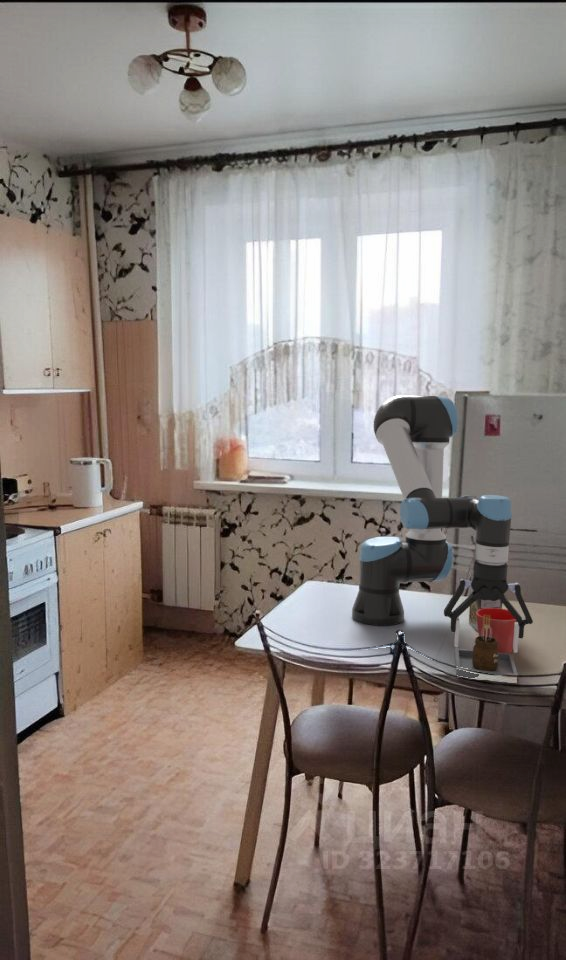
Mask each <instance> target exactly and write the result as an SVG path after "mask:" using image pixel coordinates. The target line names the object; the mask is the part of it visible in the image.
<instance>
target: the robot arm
mask: <svg viewBox="0 0 566 960" xmlns="http://www.w3.org/2000/svg"><path fill="white" fill-rule="evenodd" d="M458 429H459V415H458V410H457V408H456V405H455V403H454V401H453V400H452V399H450V398H449V397H447V396H439V395H405V394H404V395H403V394H400V395H399V394H398V395H396V396H392V397H390V398H388V399H386V400H385V401H384V402H383V403H382V404H381V405H380V407H378V409H377V410H376V413H375V415H374V420H373V432H374V434H375V438H376V440H377V442H378V443H379V444H380V445H382V446H383V448H384V452H385V454H386V456H387V458H388V461H389V463H390V466H391V470H392V471H393V475H394V477H395V479H396V482H397V485H398V487H399V489H400V493H401V495H402V498H403V500H402V501H401V503H400V507H399V516H400V521H401V524H402V526H403V527H404V528H406V529H408V530H409V531H408V532H407V533H406V534H405V541H403V542H402V540H401V538H399V537H398V536H397V537H396V536H377V537H371V538H369V539H366V540H365V541H363V543H362V544H361V545H360V552H359V558H358V559H359V574H358V575H359V576H358V577H359V580H358V581H359V582H358V583H359V585H358V592H357V595H356V597H355V601H354V603H353V606H352V610H351V613H352V614H351V617H352V619H353V620H355V621H356V622H358V623H363V624H365V625H372V626H384V627H385V626H394V625H398V624H401V623H402V622H403V621H404V620H405V609H404V605H403V602H402V598H401V596H400V595H401V594H400V583H421V582H422V583H423V582H424V583H427V582H428V583H433V582H440V581H444V580H445V579H447V577H449V575H450V573H451V571H452V568H453V565H454V552H453V547H452V544H451V543H450V542H448V541H447V537H446V535H445V533H443V532H442V529H446V530H447V529H471V530H474V531H475V533H476V535H475V548H474V559H475V561H474V564H473V569H474V577H473V580H472V581H471V579H470V580H468V579H465V578H464V577H461V578H459V582H458V587H457V588H456V590H455V592H454V593H453V595H452V596H451V597H450V600H449V601H448V603H447V604H446V606H445V608H444V609H443V615H444V616H445V617H447V618H450V632H451V633H454V647H455V648H459V635H460V616H461V615H462V614H463V613H464V612H465V611H466V610H467V609H469V608H470V605H471V604H472V603H473V602H475V601H476V600H477V599H478V598H480V599H482V600H491V601H496V600H500V601H501V602H502V605H504V607H505V608H506V610H508V611H509V612H510V613H511V614H512V616H513V617H514V618H515V619H516V621H517V622H515V625H514V639H513V649H512V652H513V653H514V654H515V653H518V651H519V639H523V638H524V634H525V626H526V625H532V624H533V623H534V620H533V618H532V615H531V613H530V611H529V609H528V607H527V604H526V602H525V600H524V598H523V595H522V594H521V593H522V592H521V589H522V588H521V584H520V583H519V582H518V581H515V582H514V583H513V582H512V583H508V581H507V579H508V563H507V562H508V561H509V547H510V538H511V527H512V517H513V516H512V515H513V513H512V500H511V498H510V497H507V496H503V495H500V494H499V495H498V494H484V495H481V496H479V497H477V496H475V495H469V494H465V495H461V496H458V497H443V484H444V483H443V480H444V478H443V477H444V454H445V453H444V450H445V448H446V447H447V446H448V445H450V439H451V438H452V437H454V436H455V435H456V434H457V432H458V431H457V430H458ZM469 587H470V588H471V587H472V588H473V590H474V591H473V592H472V593H471V594H470V593H469V596H467V597H466V598H465V599H464V601H462V602H461V603H460V604H459V605H458V606H457V607H456V608H455V606H456V605H457V603H458V601H459V600H460V598H461V597H462V595H463V593H464V591H465V590H467V589H468V588H469ZM508 590H510V591H511V593H512V594H515V597H516V599H517V602H518V604H519V606H520V609H521V610H522V613H523V614H524V616H521V614H520V613H519V612H518V611H517V610H516V608H515V606H513V604H512V603H511V602H510V600H509V599H508V598H507V597H506V595H505V594H506V592H507V591H508Z"/></svg>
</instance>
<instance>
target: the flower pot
mask: <svg viewBox="0 0 566 960" xmlns="http://www.w3.org/2000/svg"><path fill="white" fill-rule="evenodd" d="M484 615H485V624H486V615H487V624H488V622H489V615H490V628H488V630H487V636H490V635H491V636H492V637H493V638H495V639H497V642H498V645H497V648H498V651H499V653H510V654H512V652H513V639H514V625H515V622H517V621H516V619H515V618H514V617H513V616H512V614H511V613H510V612H509V611H508V609H507V608H506V609H505V608H502V609H500V608H484V609H480V610H478V611H477V612H476V618H477V626H478V631H477V632H478V636H485V631H486V629H485V628H483V616H484ZM482 628H483V629H482ZM491 628H492V629H491ZM490 630H491V631H490ZM483 632H484V634H483Z"/></svg>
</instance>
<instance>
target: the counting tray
mask: <svg viewBox="0 0 566 960" xmlns="http://www.w3.org/2000/svg"><path fill="white" fill-rule="evenodd" d="M472 657H473V649H465V648H458V647H455V648H454V663H455V665H456V666H458V667H463V668H468V669H469V670H473V671H479V672H484V673H488V674H496V675H518V676H519V673H518V670H517V667H516V664H515V660H514V658H513V654H512V653H499V655H498V667H497V669H496V670H495V671H482V670H478V669H476V668H474V667H473V664H472ZM456 675H458V676H463V677H468V678H475V677H478V676H479V674H474V673H470V672H466V671H463V670H459V669H456V668H455V676H456Z"/></svg>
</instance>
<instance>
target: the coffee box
mask: <svg viewBox="0 0 566 960" xmlns="http://www.w3.org/2000/svg"><path fill="white" fill-rule="evenodd" d="M470 571H471V573H470V581H472V580H473V577H474V568H473V569H471V570H470ZM473 591H474V590H473V588H472V587H471V586H470V589H469V592H470V593H469V595H470V594H471V593H472V592H473ZM484 608H500V609H503V603H502V602H501V601H500V600H496V601H491V600H482V599H480V598H478V599H477V600H476V601H475V602H473V603H472V604H471V605H470V606H469V611H468V613H469V615H468V617H469V618H468V624H469V625H470V626H471V627H472V628H473V629H475V630H476V631H477V632H478V626H477V618H476V612H477V611H478V610H480V609H484Z"/></svg>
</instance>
